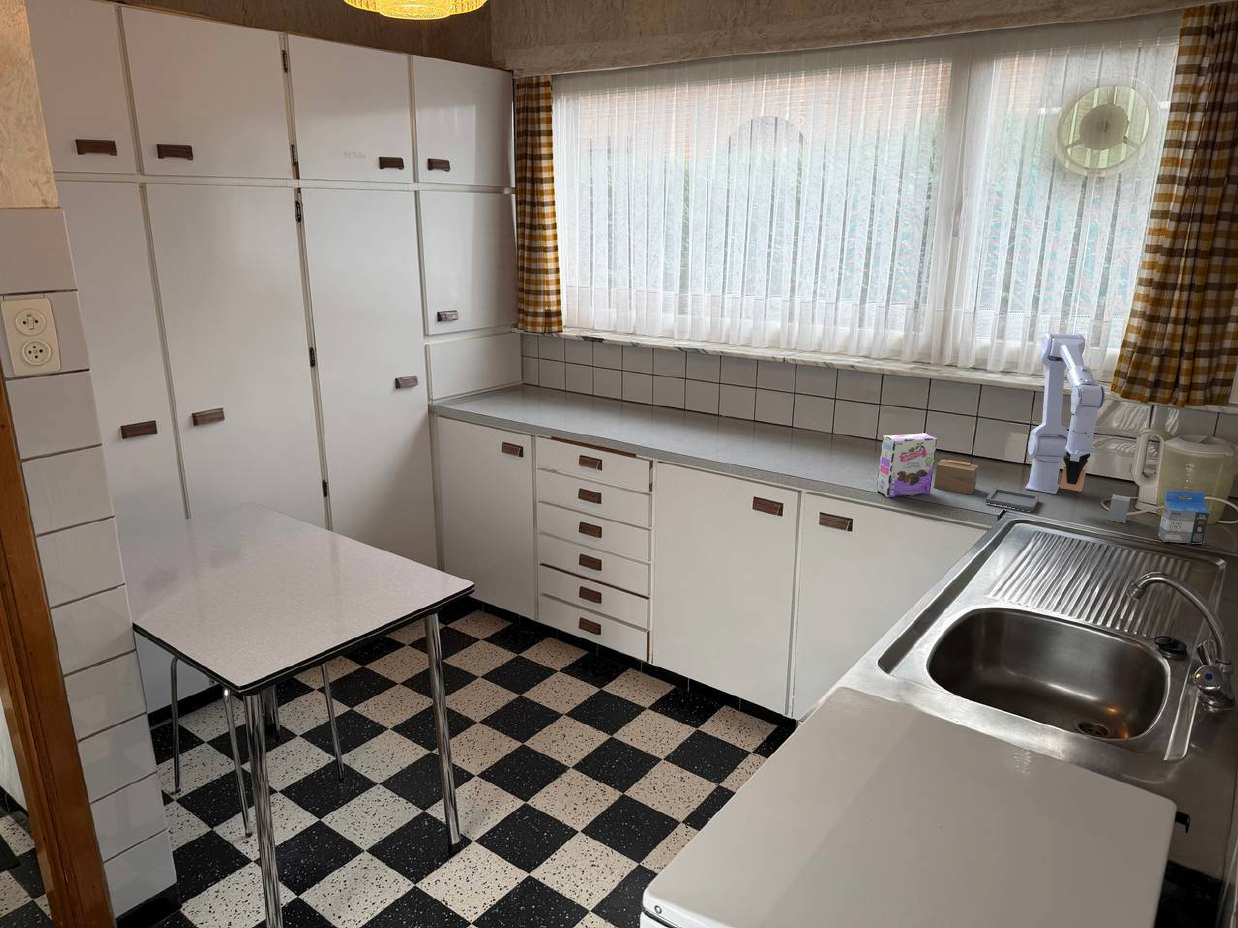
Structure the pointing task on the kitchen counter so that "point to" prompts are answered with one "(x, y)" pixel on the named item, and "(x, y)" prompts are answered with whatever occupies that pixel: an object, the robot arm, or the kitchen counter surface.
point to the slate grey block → (1118, 508)
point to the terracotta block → (1071, 486)
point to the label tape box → (1184, 517)
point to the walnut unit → (956, 476)
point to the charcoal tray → (1013, 499)
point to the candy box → (906, 464)
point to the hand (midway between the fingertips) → (1072, 481)
